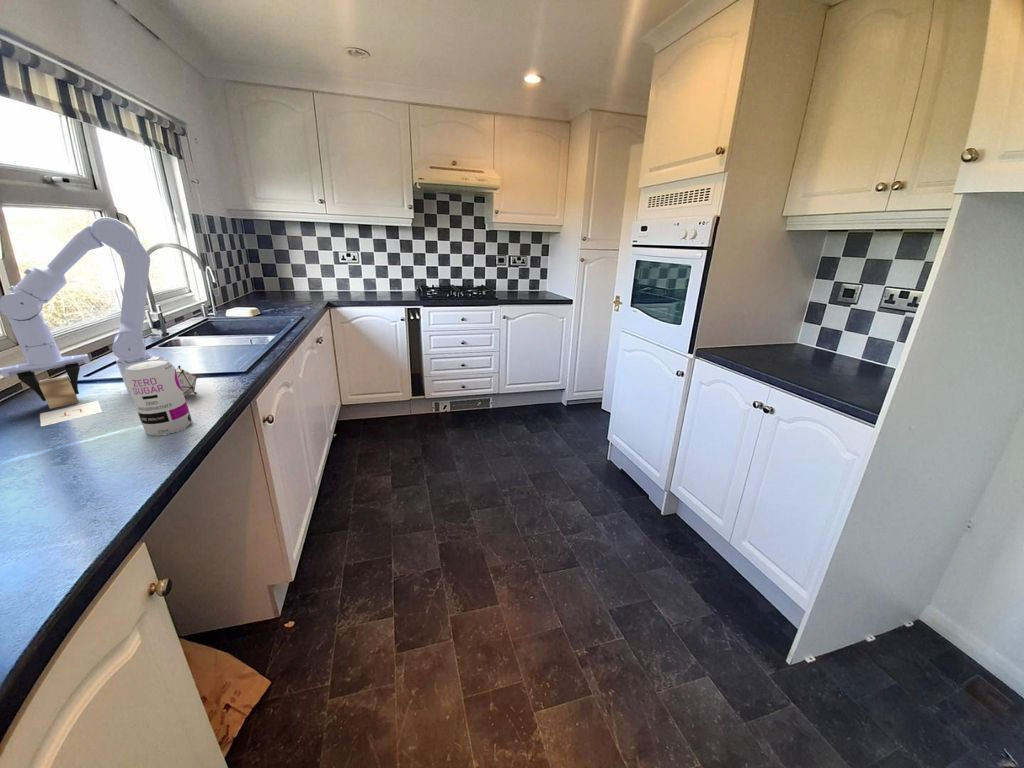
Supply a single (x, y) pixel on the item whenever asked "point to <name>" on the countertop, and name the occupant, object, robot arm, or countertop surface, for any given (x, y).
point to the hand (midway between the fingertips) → (61, 396)
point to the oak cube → (58, 391)
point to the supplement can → (158, 396)
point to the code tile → (69, 413)
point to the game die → (186, 381)
